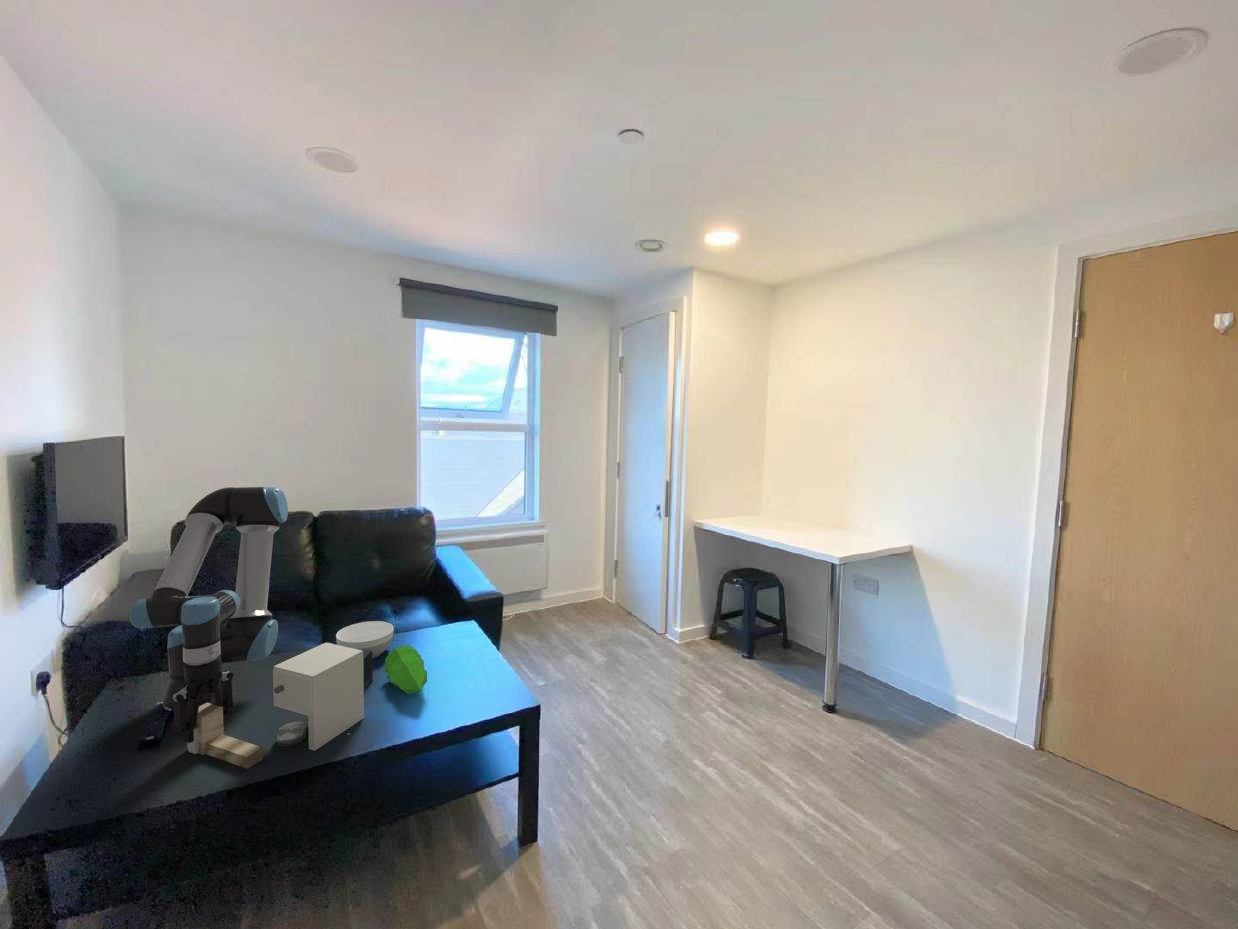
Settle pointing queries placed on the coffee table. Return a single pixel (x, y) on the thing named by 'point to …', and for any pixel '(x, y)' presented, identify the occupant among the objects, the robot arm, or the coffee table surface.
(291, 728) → the grey rounded puck
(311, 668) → the cabinet
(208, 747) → the tan l-shaped block
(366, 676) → the small box
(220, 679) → the robot arm
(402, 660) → the decorative tree
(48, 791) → the coffee table surface
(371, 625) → the bowl
